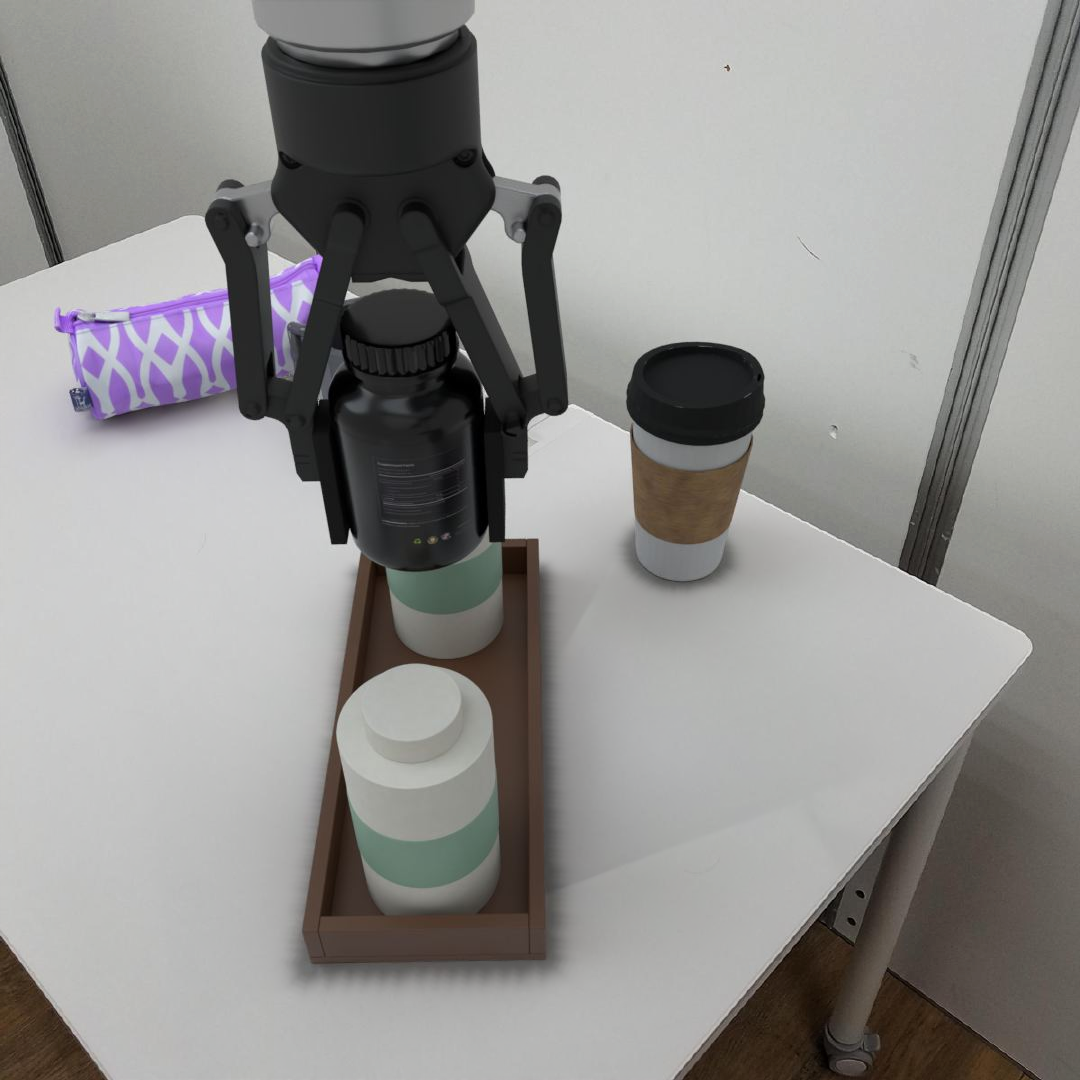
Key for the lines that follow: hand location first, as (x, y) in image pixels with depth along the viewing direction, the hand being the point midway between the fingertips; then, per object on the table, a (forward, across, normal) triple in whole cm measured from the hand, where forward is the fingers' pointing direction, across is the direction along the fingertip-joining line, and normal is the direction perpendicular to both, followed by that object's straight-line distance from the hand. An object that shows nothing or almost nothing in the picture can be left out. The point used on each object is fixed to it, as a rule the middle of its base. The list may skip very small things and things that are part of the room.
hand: (420, 524), depth 54 cm
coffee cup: (+17, -16, -16) cm, 28 cm away
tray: (+17, 0, 0) cm, 17 cm away
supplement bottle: (+1, 0, 0) cm, 1 cm away
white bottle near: (+16, 0, +9) cm, 18 cm away
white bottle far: (+16, 0, -9) cm, 18 cm away
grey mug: (+17, +8, -31) cm, 36 cm away
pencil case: (+17, +21, -37) cm, 46 cm away
